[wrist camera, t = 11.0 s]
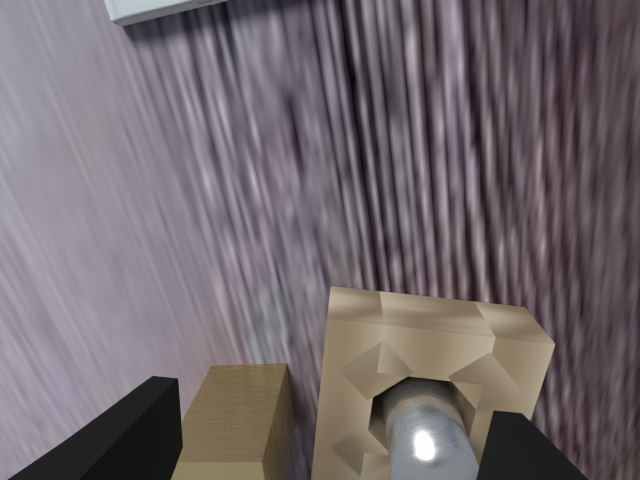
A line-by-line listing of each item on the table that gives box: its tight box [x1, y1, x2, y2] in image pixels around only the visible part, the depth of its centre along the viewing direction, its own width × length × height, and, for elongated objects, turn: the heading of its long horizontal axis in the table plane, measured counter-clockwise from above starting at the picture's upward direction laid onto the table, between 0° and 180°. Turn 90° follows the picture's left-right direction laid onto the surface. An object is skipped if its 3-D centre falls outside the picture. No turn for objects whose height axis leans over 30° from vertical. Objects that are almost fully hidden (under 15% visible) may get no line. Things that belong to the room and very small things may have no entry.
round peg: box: [381, 376, 479, 480], centre depth 17 cm, size 3×3×6 cm
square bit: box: [171, 363, 295, 480], centre depth 19 cm, size 4×4×6 cm
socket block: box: [311, 286, 555, 480], centre depth 19 cm, size 9×9×3 cm
